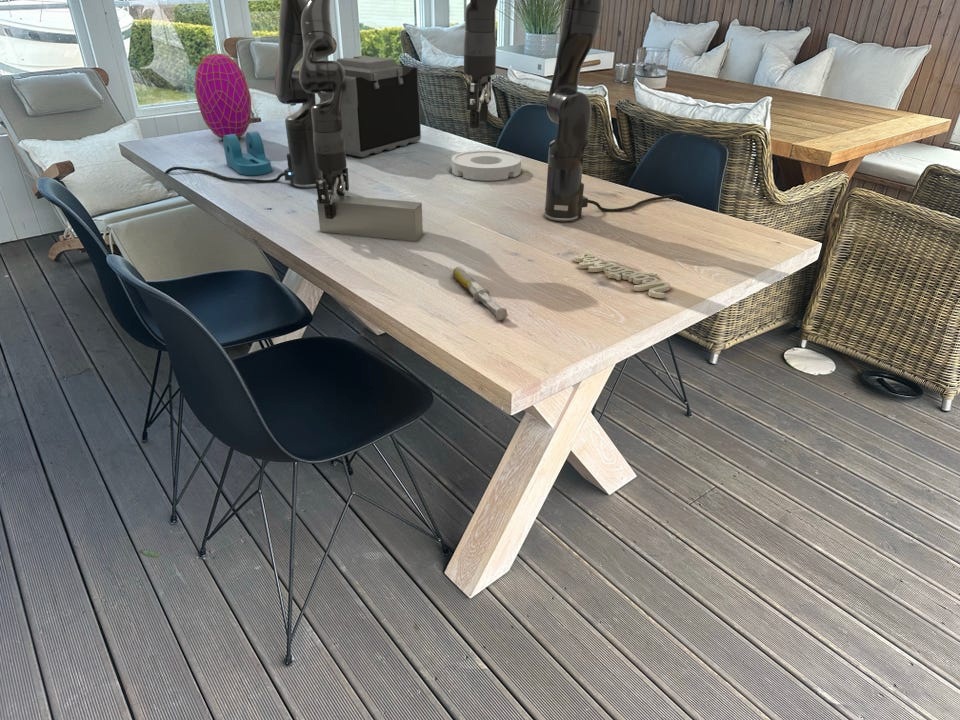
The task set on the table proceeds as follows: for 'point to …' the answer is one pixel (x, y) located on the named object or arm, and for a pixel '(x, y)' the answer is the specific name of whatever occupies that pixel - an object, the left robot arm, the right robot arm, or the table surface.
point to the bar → (373, 218)
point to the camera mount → (246, 154)
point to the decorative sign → (625, 274)
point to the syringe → (479, 293)
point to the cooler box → (378, 105)
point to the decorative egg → (223, 95)
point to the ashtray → (486, 165)
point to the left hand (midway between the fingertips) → (336, 213)
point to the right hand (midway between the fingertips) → (479, 124)
